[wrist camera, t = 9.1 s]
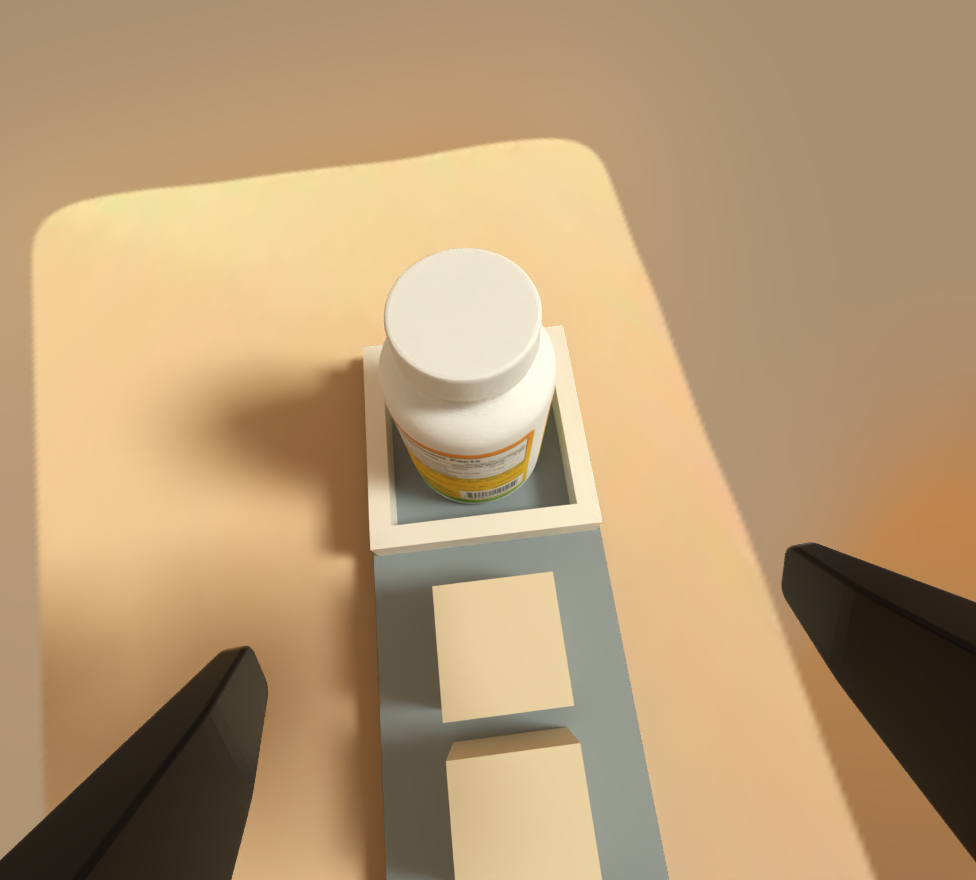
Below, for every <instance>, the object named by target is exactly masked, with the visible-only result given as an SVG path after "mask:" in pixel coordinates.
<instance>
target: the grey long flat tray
mask: <svg viewBox="0 0 976 880" xmlns="http://www.w3.org/2000/svg"><path fill="white" fill-rule="evenodd" d="M544 328H545V330H546V331H547V333H548V335H549V337H550V340H551V342H552V345H553V348H554V352H555V358H556V382H555V389H554V394H553V399H552V403H551V406H550V410H549V415H548V419H547V423H546V427H545V431H544V436H543V440H542V444H541V449H540V453H539V456H538V459H537V462H536V465H535V467H534V469H533V471H532V473H531V475H530V476H529V478H528V479H527V480H526V481H525V482H524V484H523V485H522V486H521V487H520V488H518V489H517V490H516V491H515V492H513V493H512V494H510V495H508V496H507V497H505V498H503V499H500V500H498V501H494V502H491V503H485V504H465V503H460V502H456V501H453V500H450V499H448V498H445V497H444V496H442V495H440V494H438V493H437V492H436V491H435V490H433V489H432V488H431V487H430V486H429V485H428V484H427V483H426V482H425V481H424V479H423V478H422V477H421V475H420V474H419V472H418V471H417V469H416V467H415V465H414V463H413V461H412V459H411V456H410V454H409V452H408V450H407V448H406V446H405V444H404V441H403V439H402V437H401V435H400V433H399V431H398V429H397V427H396V424H395V422H394V420H393V418H392V416H391V414H390V412H389V410H388V408H387V406H386V403H385V401H384V398H383V395H382V392H381V388H380V383H379V360H380V355H381V351H382V347H383V345H376V346H366V347H363V367H364V394H365V421H366V448H367V475H368V502H369V528H370V550H371V551H372V552H374V577H375V603H376V628H377V653H378V679H379V704H380V729H381V755H382V780H383V806H384V831H385V856H386V880H669V877H668V871H667V866H666V861H665V856H664V851H663V846H662V841H661V836H660V831H659V826H658V821H657V816H656V811H655V806H654V801H653V795H652V790H651V785H650V780H649V775H648V770H647V765H646V760H645V755H644V750H643V745H642V740H641V735H640V730H639V725H638V720H637V714H636V709H635V704H634V699H633V694H632V689H631V684H630V679H629V674H628V669H627V664H626V659H625V654H624V649H623V644H622V638H621V633H620V628H619V623H618V618H617V613H616V608H615V603H614V598H613V593H612V588H611V583H610V578H609V573H608V568H607V562H606V557H605V552H604V547H603V542H602V537H601V532H600V527H599V525H600V524H601V523H602V518H601V513H600V508H599V503H598V498H597V493H596V488H595V483H594V478H593V473H592V468H591V463H590V458H589V453H588V448H587V443H586V438H585V433H584V428H583V423H582V418H581V413H580V408H579V403H578V398H577V393H576V388H575V383H574V378H573V373H572V368H571V363H570V358H569V353H568V348H567V343H566V338H565V333H564V328H563V325H561V326H552V327H544Z"/></svg>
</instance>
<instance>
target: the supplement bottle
mask: <svg viewBox="0 0 976 880" xmlns="http://www.w3.org/2000/svg"><path fill="white" fill-rule="evenodd" d="M541 322H542V308H541V302H540V298H539V295H538V292H537V290H536V287H535V286H534V284H533V282H532V281H531V279H530V278H529V277H528V275H527V274H526V273H525V272H524V271H523V270H522V269H521V268H520V267H519V266H517V265H516V264H515V263H513V262H512V261H510V260H509V259H507V258H505V257H503V256H501V255H499V254H496V253H493V252H490V251H487V250H482V249H476V248H455V249H448V250H443V251H440V252H437V253H434V254H431V255H429V256H426V257H425V258H423V259H421V260H419V261H418V262H416V263H414V264H413V265H412V266H410V267H409V268H408V269H407V270H406V271H405V272H404V273H403V274H402V275H401V276H400V277H399V278H398V279H397V281H396V282H395V284H394V285H393V287H392V289H391V291H390V293H389V295H388V298H387V301H386V305H385V311H384V326H385V332H386V336H387V338H386V340H385V342H384V345H383V347H382V351H381V355H380V360H379V383H380V388H381V392H382V395H383V398H384V401H385V403H386V406H387V408H388V410H389V412H390V414H391V416H392V418H393V420H394V422H395V424H396V427H397V429H398V431H399V433H400V435H401V437H402V439H403V441H404V444H405V446H406V448H407V450H408V452H409V454H410V456H411V459H412V461H413V463H414V465H415V467H416V469H417V471H418V472H419V474H420V475H421V477H422V478H423V479H424V481H425V482H426V483H427V484H428V485H429V486H430V487H431V488H432V489H433V490H435V491H436V492H437V493H438V494H440V495H442V496H444V497H445V498H448V499H450V500H453V501H456V502H460V503H465V504H485V503H491V502H494V501H498V500H500V499H503V498H505V497H507V496H508V495H510V494H512V493H513V492H515V491H516V490H517V489H518V488H520V487H521V486H522V485H523V484H524V482H525V481H526V480H527V479H528V478H529V476H530V475H531V473H532V471H533V469H534V467H535V465H536V462H537V459H538V456H539V453H540V449H541V444H542V440H543V436H544V431H545V427H546V423H547V419H548V415H549V410H550V406H551V403H552V399H553V394H554V389H555V382H556V358H555V352H554V348H553V345H552V342H551V340H550V337H549V335H548V333H547V331H546V330H545V328H544V326H543V325H542V324H541Z"/></svg>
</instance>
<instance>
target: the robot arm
mask: <svg viewBox="0 0 976 880" xmlns="http://www.w3.org/2000/svg"><path fill="white" fill-rule="evenodd" d="M782 592H783V594H784V597H785V599H786V601H787V603H788V604H789V606H790V607H791V609H792V611H793V612H794V614H795V615H796V617H797V619H798V620H799V622H800V623H801V625H802V626H803V628H804V630H805V631H806V633H807V634H808V636H809V638H810V639H811V641H812V642H813V644H814V646H815V647H816V649H817V650H818V652H819V654H820V655H821V657H822V658H823V660H824V661H825V663H826V665H827V666H828V668H829V669H830V671H831V672H832V674H833V675H834V677H835V678H836V680H837V681H838V683H839V684H840V685H841V687H842V688H843V689H844V691H845V692H846V694H847V695H848V696H849V698H850V699H851V700H852V701H853V703H854V704H855V705H856V707H857V708H858V709H859V711H860V712H861V713H862V714H863V716H864V717H865V718H866V720H867V721H868V722H869V724H870V725H871V726H872V728H873V729H874V730H875V732H876V733H877V734H878V735H879V736H880V738H881V739H882V741H883V742H884V743H885V744H886V746H887V747H888V748H889V750H890V751H891V752H892V754H893V755H894V756H895V758H896V759H897V760H898V761H899V763H900V764H901V765H902V767H903V768H904V769H905V771H906V772H907V773H908V775H909V776H910V777H911V778H912V780H913V781H914V782H915V784H916V785H917V786H918V788H919V789H920V790H921V791H922V793H923V794H924V795H925V797H926V798H927V799H928V801H929V802H930V803H931V805H932V806H933V807H934V809H935V810H936V811H937V812H938V814H939V815H940V816H941V817H942V819H943V820H944V822H945V823H946V824H947V825H948V827H949V828H950V829H951V831H952V832H953V833H954V835H955V836H956V837H957V839H958V840H959V841H960V842H961V844H962V845H963V846H964V848H965V849H966V850H967V852H968V853H969V854H970V855H971V857H972V858H973V859H974V861H975V862H976V602H973V601H971V600H968V599H966V598H963V597H960V596H958V595H955V594H952V593H949V592H947V591H944V590H941V589H938V588H936V587H933V586H931V585H928V584H925V583H922V582H920V581H917V580H914V579H912V578H909V577H906V576H903V575H900V574H898V573H895V572H893V571H890V570H887V569H885V568H882V567H879V566H876V565H873V564H871V563H868V562H866V561H863V560H860V559H858V558H855V557H852V556H849V555H847V554H844V553H841V552H839V551H836V550H833V549H830V548H828V547H825V546H822V545H820V544H817V543H804V544H798V545H793V546H790V547H789V548H788V549H787V550H786V553H785V559H784V568H783V576H782ZM267 697H268V687H267V682H266V679H265V677H264V674H263V672H262V670H261V667H260V665H259V663H258V660H257V658H256V655H255V653H254V651H253V650H252V649H251V648H250V647H249V646H241V647H236V648H231V649H226V650H223V651H221V652H220V653H219V654H218V655H217V656H216V657H214V658H213V659H212V660H211V661H210V662H209V663H208V664H207V665H206V666H205V667H204V668H203V669H202V670H201V671H200V672H199V673H198V674H197V675H195V676H194V677H193V678H192V679H191V680H190V681H189V682H188V683H187V684H186V685H185V686H184V687H183V688H182V689H181V690H180V691H179V692H178V693H176V694H175V695H174V696H173V697H172V698H171V699H170V700H169V701H168V702H167V703H166V704H165V705H164V706H163V707H162V708H161V709H160V710H159V711H157V712H156V713H155V714H154V715H153V716H152V717H151V718H150V719H149V720H148V721H147V722H146V723H145V724H144V725H143V726H142V727H141V728H139V729H138V730H137V731H136V732H135V733H134V734H133V735H132V736H131V737H130V738H129V739H128V740H127V741H126V742H125V743H124V744H123V745H122V746H120V747H119V748H118V749H117V750H116V751H115V752H114V753H113V754H112V755H111V756H110V757H109V758H108V759H107V760H106V761H105V762H104V763H103V764H101V765H100V766H99V767H98V768H97V769H96V770H95V771H94V772H93V773H92V774H91V775H90V776H89V777H88V778H87V779H86V780H85V781H84V782H82V783H81V784H80V785H79V786H78V787H77V788H76V789H75V790H74V791H73V792H72V793H71V794H70V795H69V796H68V797H67V798H66V799H64V800H63V801H62V802H61V803H60V804H59V805H58V806H57V807H56V808H55V809H54V810H53V811H52V812H51V813H50V814H49V815H48V816H47V817H45V818H44V819H43V820H42V821H41V822H40V823H39V824H38V825H37V826H36V827H35V828H34V829H33V830H32V831H31V832H30V833H29V834H27V835H26V836H25V837H24V838H23V839H22V840H21V841H20V842H19V843H18V844H17V845H16V846H15V847H14V848H13V849H12V850H11V851H9V853H7V854H6V855H5V856H4V857H3V858H2V859H1V860H0V880H231V879H232V875H233V871H234V867H235V863H236V859H237V855H238V851H239V847H240V844H241V840H242V836H243V832H244V828H245V824H246V820H247V816H248V812H249V808H250V803H251V799H252V794H253V789H254V783H255V777H256V770H257V764H258V757H259V750H260V744H261V737H262V731H263V724H264V717H265V711H266V704H267Z"/></svg>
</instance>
